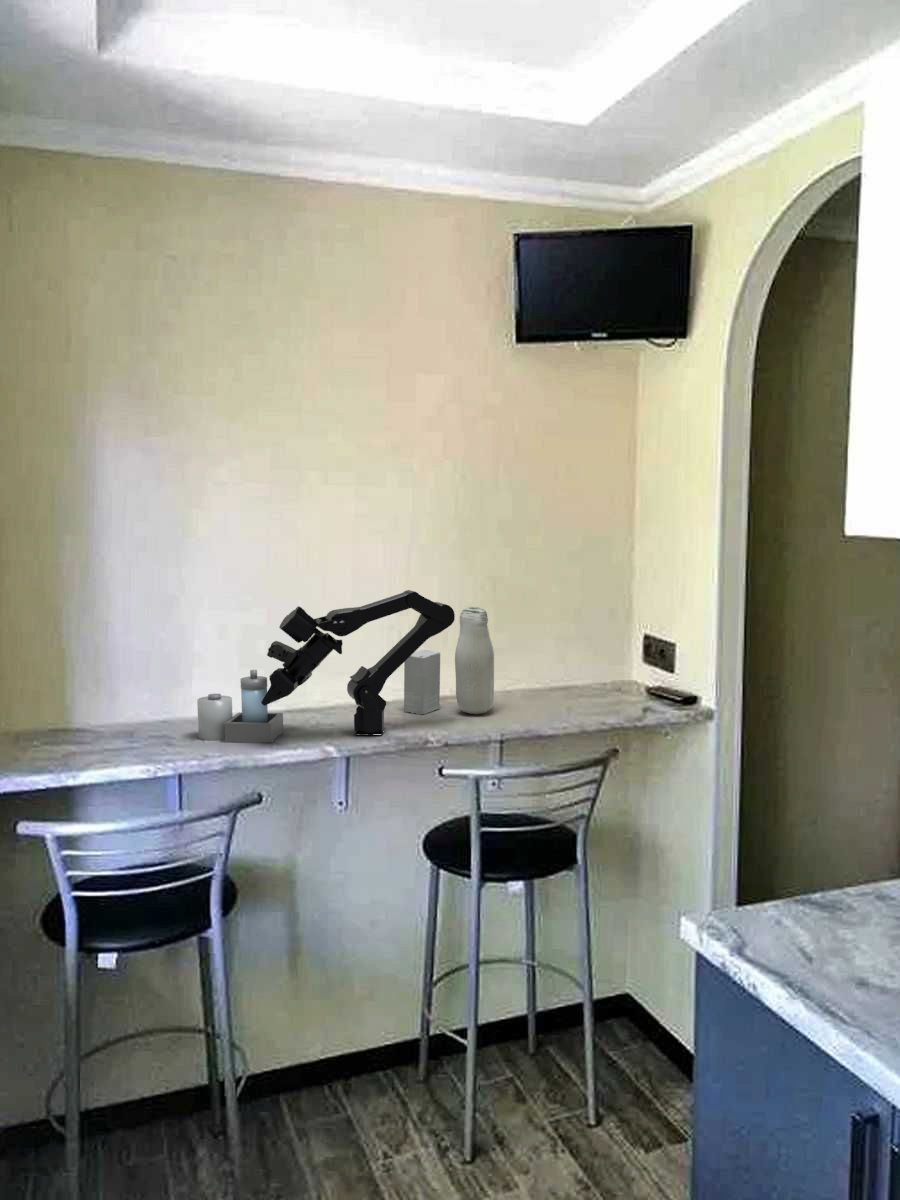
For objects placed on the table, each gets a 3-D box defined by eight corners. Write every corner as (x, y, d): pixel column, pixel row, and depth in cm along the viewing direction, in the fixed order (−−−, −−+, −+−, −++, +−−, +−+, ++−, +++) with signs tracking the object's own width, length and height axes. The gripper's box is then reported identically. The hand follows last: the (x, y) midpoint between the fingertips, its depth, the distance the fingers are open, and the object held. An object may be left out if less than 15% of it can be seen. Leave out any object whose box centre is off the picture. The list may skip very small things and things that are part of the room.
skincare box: (421, 706, 257) (420, 648, 256) (442, 709, 253) (442, 651, 252) (402, 712, 250) (401, 653, 249) (424, 715, 246) (423, 655, 245)
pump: (271, 729, 229) (269, 668, 227) (264, 735, 223) (262, 672, 221) (246, 729, 229) (244, 667, 228) (238, 735, 223) (236, 672, 221)
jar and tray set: (283, 731, 231) (282, 690, 230) (271, 742, 220) (270, 700, 219) (207, 730, 233) (205, 690, 231) (191, 741, 222) (190, 699, 221)
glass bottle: (497, 710, 252) (496, 605, 249) (489, 718, 242) (488, 610, 239) (461, 708, 255) (460, 604, 252) (451, 716, 245) (450, 609, 242)
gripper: (297, 624, 232) (255, 669, 234) (277, 636, 213) (231, 684, 216) (330, 656, 232) (287, 700, 234) (312, 670, 214) (266, 718, 216)
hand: (268, 699), depth 225 cm, fingers open, 9 cm apart
